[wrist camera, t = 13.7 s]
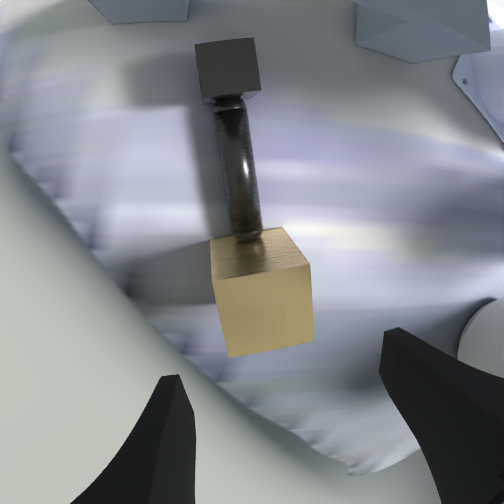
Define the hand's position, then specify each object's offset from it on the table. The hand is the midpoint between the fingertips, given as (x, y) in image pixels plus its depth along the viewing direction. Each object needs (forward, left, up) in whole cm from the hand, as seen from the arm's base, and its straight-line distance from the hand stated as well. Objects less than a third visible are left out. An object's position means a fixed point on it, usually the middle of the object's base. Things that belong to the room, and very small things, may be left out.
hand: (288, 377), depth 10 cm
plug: (+3, -4, -9) cm, 10 cm away
